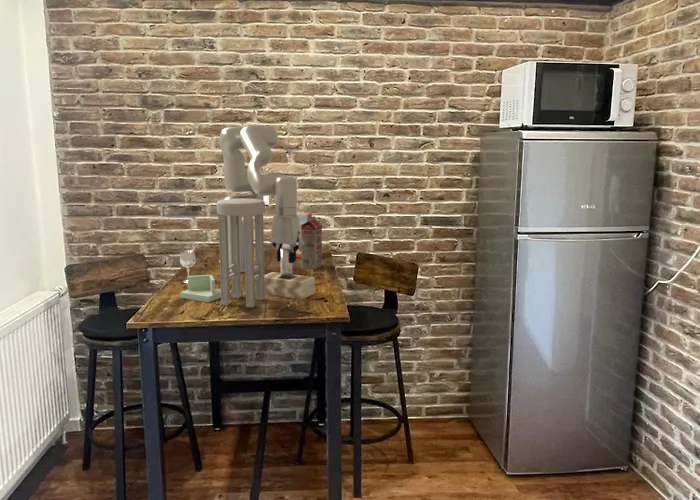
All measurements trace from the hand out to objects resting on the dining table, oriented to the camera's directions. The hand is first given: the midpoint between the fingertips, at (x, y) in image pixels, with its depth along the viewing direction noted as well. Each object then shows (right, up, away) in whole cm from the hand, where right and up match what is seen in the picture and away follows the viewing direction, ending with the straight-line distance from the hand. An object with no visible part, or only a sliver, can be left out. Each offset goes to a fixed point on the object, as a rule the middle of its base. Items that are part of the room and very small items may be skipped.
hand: (286, 261), depth 211 cm
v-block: (-29, -13, -4) cm, 32 cm away
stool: (-14, -14, -9) cm, 22 cm away
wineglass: (-40, -8, +17) cm, 44 cm away
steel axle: (0, -7, +2) cm, 7 cm away
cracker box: (-2, +1, +66) cm, 66 cm away
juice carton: (+6, -3, +45) cm, 45 cm away
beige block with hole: (0, -12, +2) cm, 12 cm away
